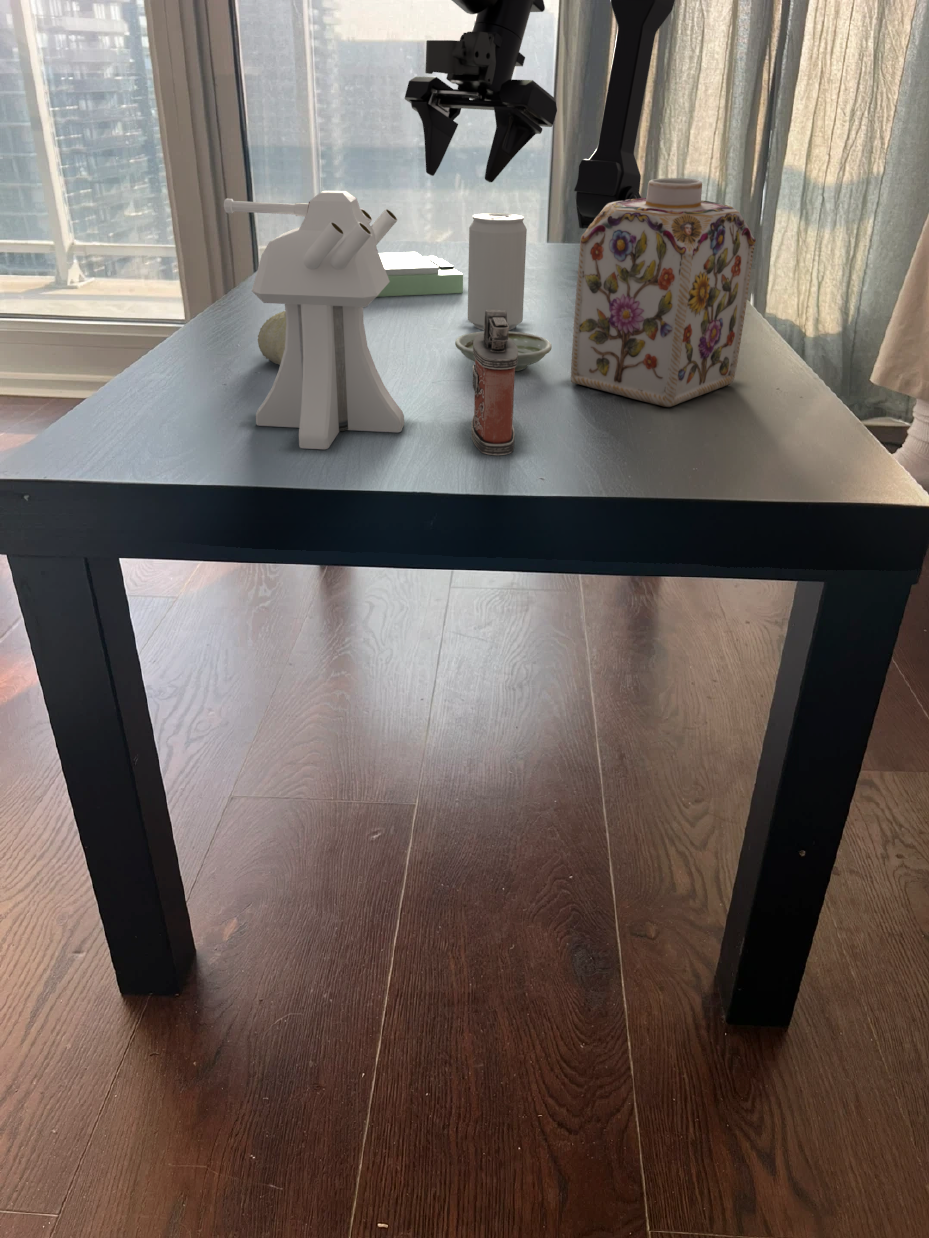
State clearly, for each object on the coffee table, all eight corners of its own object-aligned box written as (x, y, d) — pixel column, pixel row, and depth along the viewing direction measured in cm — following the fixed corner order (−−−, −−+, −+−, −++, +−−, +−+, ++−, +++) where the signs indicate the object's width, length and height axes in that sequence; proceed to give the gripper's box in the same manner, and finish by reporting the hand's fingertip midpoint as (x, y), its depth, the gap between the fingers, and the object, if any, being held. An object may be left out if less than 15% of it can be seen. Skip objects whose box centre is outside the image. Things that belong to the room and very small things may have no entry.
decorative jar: (737, 385, 94) (769, 181, 85) (671, 411, 87) (698, 190, 78) (634, 361, 101) (653, 170, 92) (564, 383, 94) (578, 178, 85)
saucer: (534, 383, 93) (536, 358, 92) (440, 372, 96) (440, 347, 95) (561, 359, 101) (563, 335, 100) (473, 349, 104) (474, 326, 103)
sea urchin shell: (368, 332, 101) (342, 286, 94) (347, 400, 100) (320, 358, 92) (289, 324, 104) (258, 278, 97) (268, 390, 102) (234, 348, 95)
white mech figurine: (265, 399, 88) (247, 180, 79) (413, 406, 86) (410, 185, 78) (224, 444, 77) (196, 198, 68) (390, 452, 76) (384, 203, 67)
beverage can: (523, 320, 116) (528, 212, 110) (520, 333, 110) (526, 220, 105) (470, 318, 117) (472, 210, 111) (464, 331, 111) (466, 218, 105)
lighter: (467, 422, 83) (469, 301, 78) (506, 422, 83) (511, 301, 78) (476, 455, 76) (479, 324, 71) (519, 455, 76) (525, 324, 71)
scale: (434, 273, 141) (434, 250, 139) (462, 293, 129) (463, 267, 128) (324, 277, 137) (323, 253, 135) (343, 298, 125) (342, 272, 124)
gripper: (391, 0, 109) (355, 144, 112) (520, -4, 98) (476, 156, 102) (453, 48, 118) (418, 181, 121) (578, 49, 107) (535, 195, 110)
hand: (458, 177), depth 113 cm, fingers open, 9 cm apart
